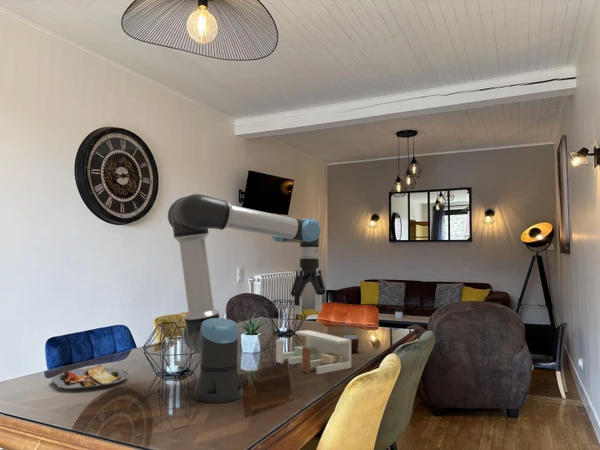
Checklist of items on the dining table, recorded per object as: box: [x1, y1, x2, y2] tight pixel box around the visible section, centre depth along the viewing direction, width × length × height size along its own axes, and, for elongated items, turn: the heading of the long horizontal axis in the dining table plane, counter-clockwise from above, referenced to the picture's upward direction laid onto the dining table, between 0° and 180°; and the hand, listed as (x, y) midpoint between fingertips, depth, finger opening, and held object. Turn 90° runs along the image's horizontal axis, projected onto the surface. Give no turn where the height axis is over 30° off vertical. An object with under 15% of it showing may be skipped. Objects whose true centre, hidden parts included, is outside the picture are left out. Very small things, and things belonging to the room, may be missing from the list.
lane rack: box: [283, 329, 352, 375], centre depth 190 cm, size 17×28×11 cm, turn 37°
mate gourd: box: [342, 320, 359, 355], centre depth 212 cm, size 8×8×15 cm
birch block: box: [301, 347, 342, 373], centre depth 181 cm, size 16×6×9 cm, turn 127°
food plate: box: [51, 364, 130, 390], centre depth 161 cm, size 25×23×4 cm
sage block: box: [275, 339, 314, 364], centre depth 195 cm, size 16×6×9 cm, turn 127°
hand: (308, 312), depth 181 cm, fingers open, 13 cm apart
